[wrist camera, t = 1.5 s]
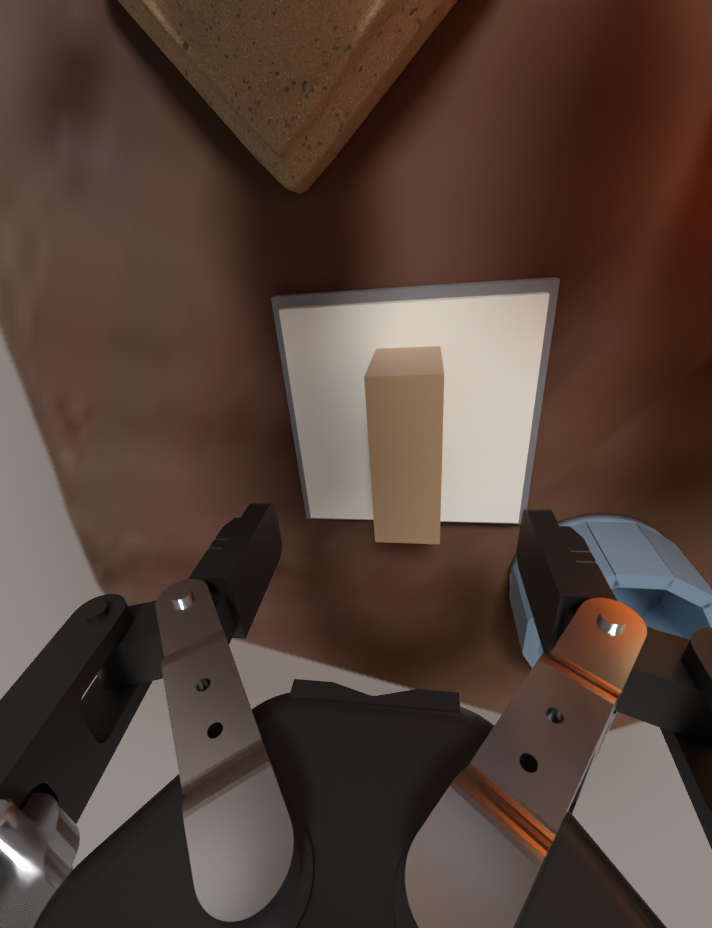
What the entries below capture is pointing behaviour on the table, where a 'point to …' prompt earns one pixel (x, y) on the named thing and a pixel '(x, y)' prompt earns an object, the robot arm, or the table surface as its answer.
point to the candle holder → (291, 67)
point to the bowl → (629, 579)
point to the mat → (420, 293)
